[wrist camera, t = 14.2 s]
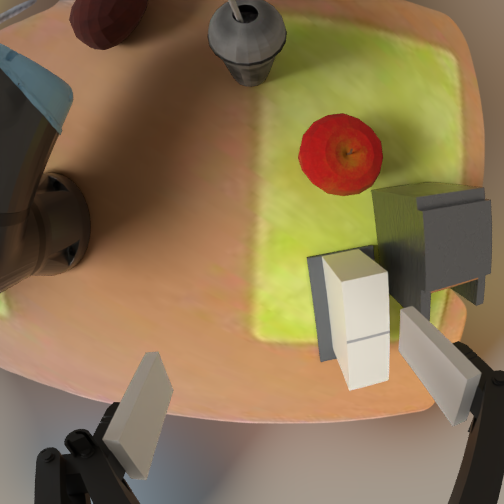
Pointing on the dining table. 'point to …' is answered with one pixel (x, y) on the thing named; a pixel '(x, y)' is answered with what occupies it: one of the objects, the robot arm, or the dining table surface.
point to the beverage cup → (247, 38)
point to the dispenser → (433, 241)
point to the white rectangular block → (358, 316)
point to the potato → (105, 21)
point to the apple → (341, 155)
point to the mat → (325, 301)
